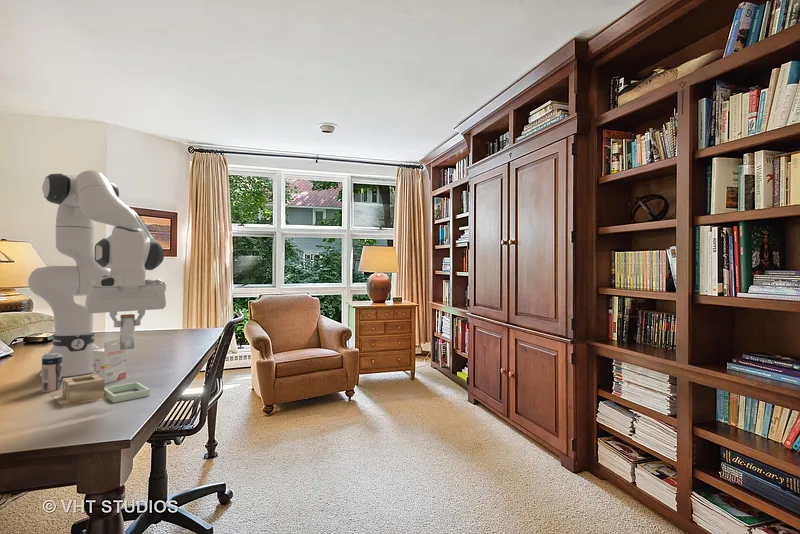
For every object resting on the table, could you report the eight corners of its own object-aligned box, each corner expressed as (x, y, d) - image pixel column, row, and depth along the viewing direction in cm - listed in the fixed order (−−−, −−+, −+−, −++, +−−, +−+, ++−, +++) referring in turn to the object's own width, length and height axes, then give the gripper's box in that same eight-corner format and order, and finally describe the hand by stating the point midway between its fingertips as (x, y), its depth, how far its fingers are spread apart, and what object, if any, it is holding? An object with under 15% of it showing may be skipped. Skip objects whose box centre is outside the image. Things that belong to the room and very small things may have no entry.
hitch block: (51, 398, 123) (52, 377, 123) (100, 389, 132) (100, 370, 132) (63, 411, 112) (63, 389, 112) (115, 401, 121) (115, 380, 121)
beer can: (62, 392, 128) (63, 353, 128) (42, 396, 125) (43, 356, 125) (60, 389, 132) (60, 351, 132) (40, 392, 128) (40, 353, 128)
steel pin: (118, 348, 124) (118, 314, 124) (132, 346, 127) (132, 313, 127) (122, 350, 121) (122, 315, 122) (136, 348, 124) (136, 314, 124)
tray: (102, 397, 124) (102, 388, 124) (137, 390, 131) (137, 382, 131) (113, 406, 117) (113, 396, 117) (149, 398, 124) (149, 389, 124)
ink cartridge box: (114, 379, 144) (114, 336, 144) (126, 380, 143) (126, 337, 143) (91, 386, 136) (91, 341, 136) (103, 387, 135) (104, 341, 135)
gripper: (162, 279, 134) (161, 322, 134) (84, 280, 119) (83, 328, 119) (169, 279, 130) (168, 324, 130) (89, 280, 115) (88, 330, 114)
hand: (127, 326), depth 124 cm, fingers closed on steel pin, 4 cm apart
